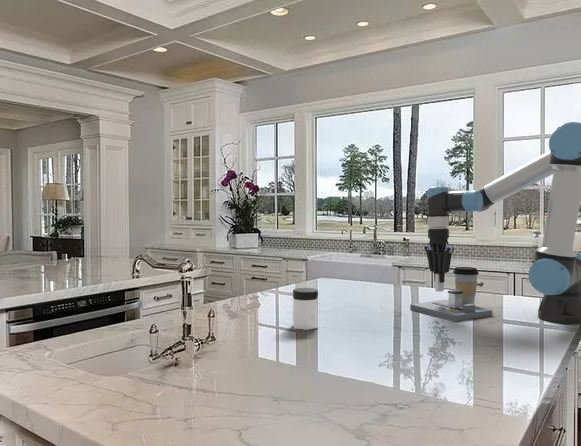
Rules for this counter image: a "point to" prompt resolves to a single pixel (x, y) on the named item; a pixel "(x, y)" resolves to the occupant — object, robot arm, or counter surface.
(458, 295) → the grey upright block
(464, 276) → the coffee cup
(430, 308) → the console
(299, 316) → the jar
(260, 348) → the counter surface
